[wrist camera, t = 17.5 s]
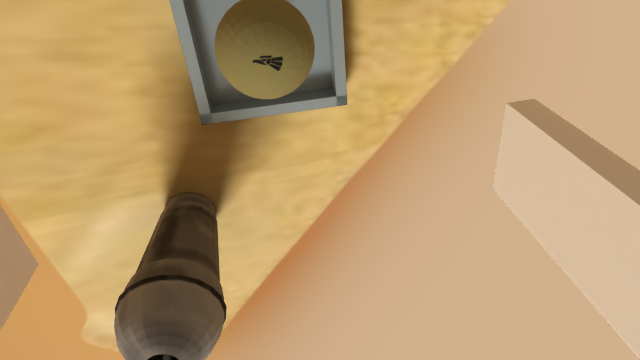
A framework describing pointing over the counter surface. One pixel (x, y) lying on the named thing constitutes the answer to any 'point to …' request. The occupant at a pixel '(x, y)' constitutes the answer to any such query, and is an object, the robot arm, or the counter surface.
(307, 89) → the tray
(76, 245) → the counter surface
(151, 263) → the beverage cup
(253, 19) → the light bulb
